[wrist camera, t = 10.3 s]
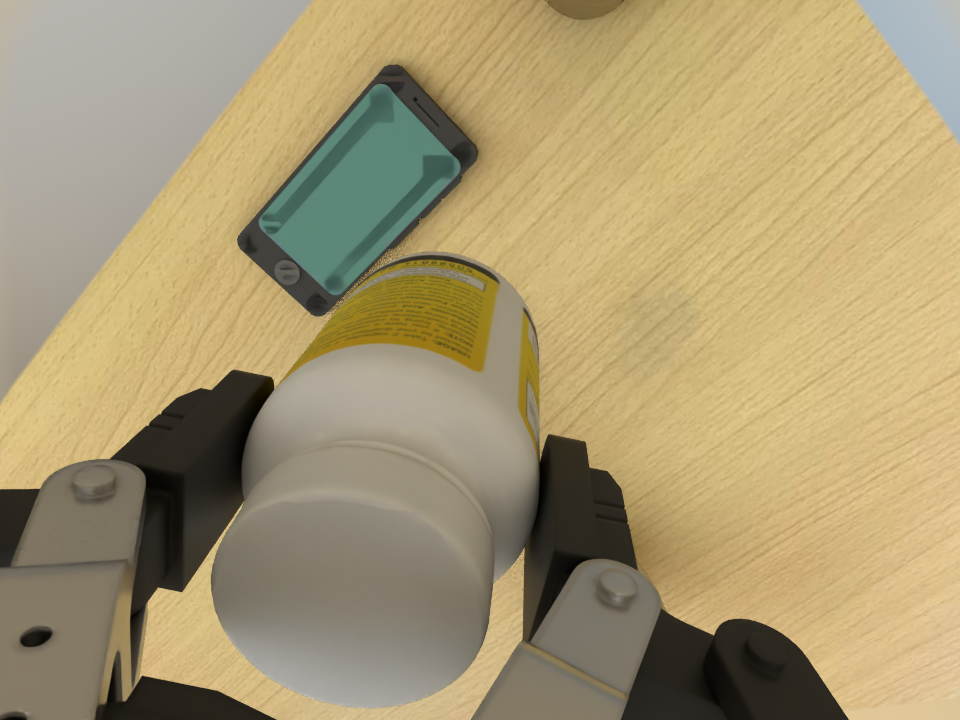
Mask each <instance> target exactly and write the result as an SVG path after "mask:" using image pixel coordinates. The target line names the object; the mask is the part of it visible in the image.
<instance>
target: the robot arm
mask: <svg viewBox="0 0 960 720" xmlns="http://www.w3.org/2000/svg"><path fill="white" fill-rule="evenodd" d="M273 391H274V381H273V379H272V378H271V377H268V376H263V375H258V374H253V373H248V372H244V371H239V370H232V371H231V372H230V373H229V374H228V375H227V376H226V377H225V378H224V379H223V380H222V381H220V382H219V383H218V384H217V385H216V386H215V387H214V388H213V389H212V390H208V389H203V388H200V389H197V390H195V391H192V392H190V393H188V394H185V395H183V396H180V397H178V398H176V399H175V400H174V401H173V402H172V403H171V404H170V405H169V406H167V407H166V408H165V409H164V410H163V411H162V414H161V415H160V414H159V415H158V416H156V417H155V418H154V419H153V420H152V421H151V422H150V424H149V426H146V427H144V428H143V429H142V430H141V431H140V432H139V433H138V434H137V435H136V436H135V437H133V438H132V439H131V440H130V441H129V442H128V443H127V444H126V445H125V446H124V447H122V448H121V449H120V450H119V451H118V452H117V453H116V454H115V455H114V456H113V457H111V458H110V459H97V460H88V461H83V462H78V463H75V464H72V465H68V466H66V467H64V468H62V469H60V470H58V471H56V472H54V473H53V474H52V475H50V476H49V477H48V478H47V479H46V480H45V481H44V483H43V485H42V486H41V489H0V720H276V719H274V718H272V717H270V716H268V715H266V714H264V713H262V712H260V711H258V710H256V709H253V708H251V707H249V706H247V705H245V704H243V703H241V702H239V701H237V700H235V699H233V698H231V697H229V696H227V695H225V694H223V693H221V692H219V691H215V690H210V689H205V688H200V687H195V686H190V685H185V684H180V683H176V682H171V681H166V680H161V679H156V678H151V677H146V676H142V677H141V679H140V680H139V676H140V669H141V662H142V654H143V647H144V640H145V632H146V625H147V618H148V600H149V599H150V598H151V596H152V595H153V594H154V592H155V591H156V589H157V588H158V587H159V588H164V589H169V590H174V591H179V592H183V590H184V589H185V587H186V586H187V584H188V583H189V581H190V580H191V578H192V577H193V575H194V574H195V573H196V571H197V570H198V568H199V567H200V565H201V564H202V562H203V561H204V559H205V558H206V556H207V555H208V553H209V552H210V550H211V549H212V547H213V546H214V544H215V543H216V542H217V540H218V539H219V537H220V536H221V534H222V533H223V531H224V530H225V528H226V527H227V525H228V524H229V522H230V521H231V519H232V518H233V516H234V515H235V513H236V512H237V511H238V509H239V508H240V506H241V505H242V503H243V502H244V496H243V491H242V477H241V472H242V458H243V453H244V448H245V443H246V440H247V437H248V434H249V431H250V429H251V427H252V425H253V422H254V420H255V419H256V417H257V415H258V413H259V412H260V410H261V408H262V407H263V405H264V403H265V402H266V401H267V399H268V398H269V396H270V395H271V394H272V392H273ZM624 507H625V505H624V500H623V495H622V490H621V488H620V487H619V485H618V484H617V483H616V482H615V480H614V479H613V478H612V476H611V475H610V474H609V473H608V471H603V470H598V469H593V468H589V462H588V455H587V447H586V443H585V441H580V440H575V439H570V438H565V437H560V436H555V435H550V434H549V435H548V436H547V439H546V441H545V445H544V448H543V452H542V456H541V460H540V486H539V503H538V508H537V514H536V518H535V522H534V525H533V529H532V532H531V534H530V536H529V539H528V541H527V543H526V545H525V558H524V602H523V640H522V641H521V642H520V643H519V644H518V646H517V647H516V649H515V650H514V652H513V653H512V655H511V656H510V658H509V660H508V661H507V663H506V664H505V666H504V668H503V669H502V671H501V672H500V674H499V676H498V677H497V679H496V680H495V682H494V684H493V685H492V687H491V688H490V690H489V692H488V693H487V695H486V696H485V698H484V699H483V701H482V703H481V704H480V706H479V707H478V709H477V711H476V712H475V714H474V715H473V717H472V719H471V720H849V719H848V718H847V716H846V715H845V713H844V712H843V710H842V709H841V707H840V706H839V704H838V703H837V701H836V700H835V699H834V697H833V696H832V694H831V693H830V691H829V690H828V688H827V687H826V685H825V684H824V682H823V681H822V679H821V678H820V676H819V675H818V673H817V672H816V670H815V669H814V667H813V666H812V664H811V663H810V661H809V660H808V658H807V657H806V656H805V654H804V653H803V652H802V651H801V650H800V649H799V647H798V646H797V645H796V644H794V643H793V642H792V641H791V640H790V639H789V638H787V637H786V636H784V635H783V634H782V633H780V632H778V631H777V630H775V629H773V628H771V627H769V626H767V625H765V624H762V623H759V622H756V621H752V620H747V619H732V620H728V621H725V622H723V623H722V624H721V625H720V626H719V627H718V628H717V630H716V632H715V635H711V634H709V633H707V632H705V631H702V630H700V629H698V628H696V627H694V626H691V625H689V624H687V623H685V622H683V621H681V620H679V619H677V618H675V617H673V616H672V615H670V614H668V613H667V612H666V611H664V610H663V609H662V608H661V599H660V596H659V594H658V592H657V590H656V588H655V587H654V585H653V584H652V583H651V582H650V581H649V580H648V579H647V578H646V577H645V576H644V575H643V574H641V573H640V572H638V568H637V563H636V558H635V553H634V549H633V544H632V539H631V534H630V529H629V524H627V521H628V519H627V515H626V510H625V509H624Z"/></svg>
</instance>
